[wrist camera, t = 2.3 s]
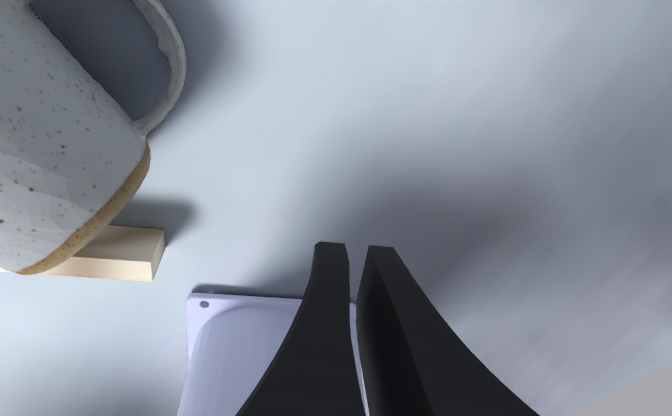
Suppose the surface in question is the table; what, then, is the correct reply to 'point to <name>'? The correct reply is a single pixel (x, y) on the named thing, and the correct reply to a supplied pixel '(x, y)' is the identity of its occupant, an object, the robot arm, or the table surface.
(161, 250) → the rails
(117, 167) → the ceramic mug
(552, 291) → the table surface
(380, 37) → the table surface
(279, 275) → the table surface
